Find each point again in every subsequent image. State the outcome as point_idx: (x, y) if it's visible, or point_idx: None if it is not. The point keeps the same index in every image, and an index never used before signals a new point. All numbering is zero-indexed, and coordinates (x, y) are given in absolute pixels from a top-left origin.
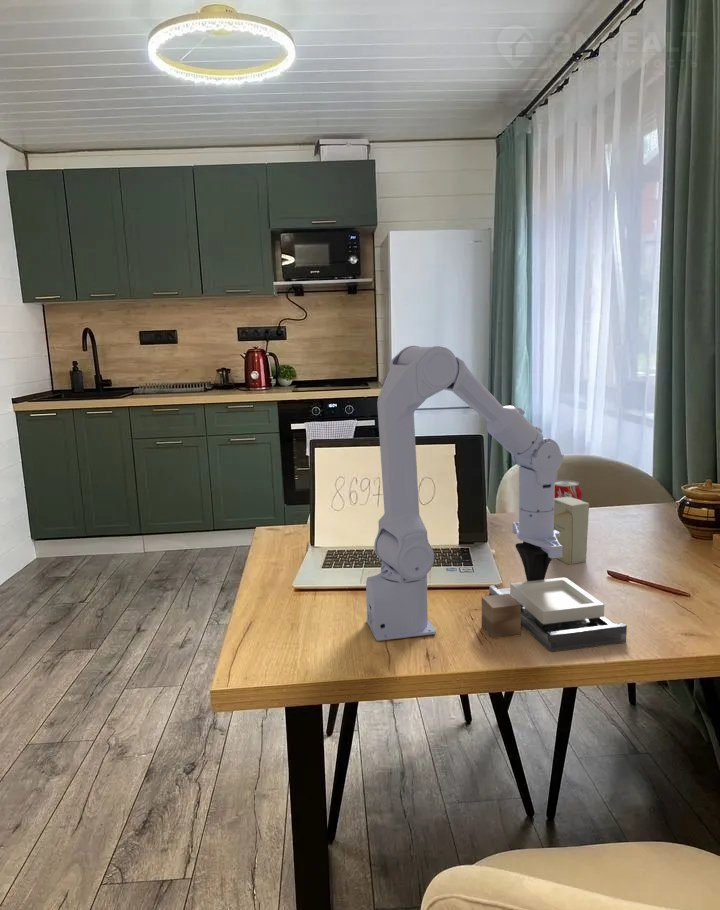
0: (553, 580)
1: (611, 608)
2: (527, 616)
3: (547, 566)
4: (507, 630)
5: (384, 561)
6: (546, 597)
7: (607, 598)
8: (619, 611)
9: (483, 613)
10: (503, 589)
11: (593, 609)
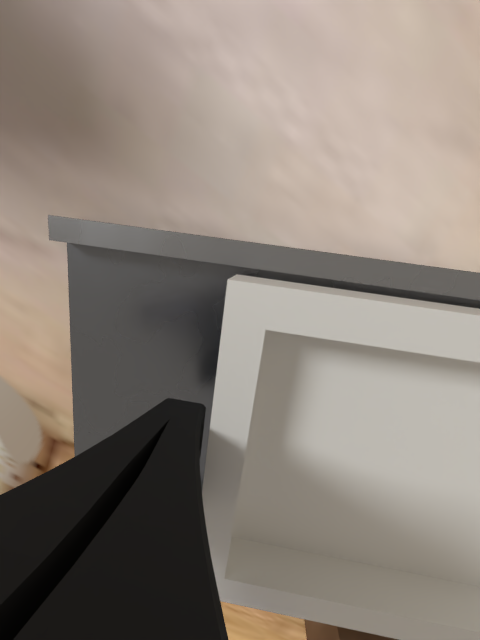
0: (246, 391)
1: (419, 110)
2: None
3: (202, 514)
4: None
5: None
6: (353, 481)
7: (305, 35)
8: (471, 94)
9: None
10: (83, 441)
11: None
